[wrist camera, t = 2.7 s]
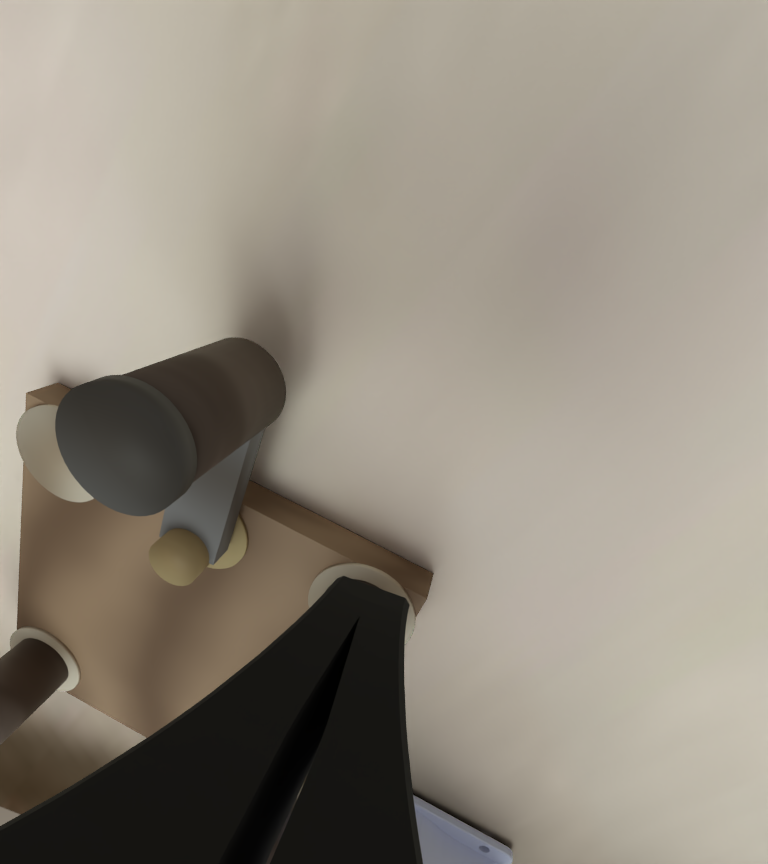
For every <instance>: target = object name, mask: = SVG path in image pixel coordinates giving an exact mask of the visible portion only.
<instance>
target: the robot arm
mask: <svg viewBox="0 0 768 864" xmlns="http://www.w3.org/2000/svg"><path fill="white" fill-rule="evenodd" d="M409 606H410V604H409V603H408V601H407V599H406V598H405V597H402V596H399V595H396V594H393V593H391V592H388V591H385V590H382V589H379V588H377V587H374V586H371V585H368V584H365V583H363V582H360V581H357V580H354V579H351V578H349V577H346V576H342V577H339V578H337V579H336V580H335V581H334V582H333V584H332V585H331V586H330V587H329V588H328V589H327V590H326V591H325V593H324V594H323V595H322V596H321V597H320V598H319V599H318V600H317V601H316V602H315V603H314V604H313V605H312V606H311V607H310V608H309V609H308V610H307V611H306V612H305V613H304V614H303V615H302V616H301V617H300V618H299V619H298V620H297V621H296V622H295V623H293V624H292V625H291V626H290V627H289V628H288V629H287V630H286V631H285V632H283V633H282V634H281V635H280V636H279V637H278V638H277V639H276V640H274V641H273V642H272V643H271V644H270V645H269V646H268V647H267V648H265V649H264V650H263V651H262V652H261V653H260V654H259V655H257V656H256V657H255V658H254V659H253V660H251V661H250V662H249V663H248V664H246V665H245V666H244V667H243V668H241V669H240V670H239V671H238V672H236V673H235V674H234V675H233V676H231V677H230V678H229V679H228V680H226V681H225V682H224V683H223V684H221V685H220V686H219V687H217V688H216V689H215V690H214V691H212V692H211V693H210V694H208V695H207V696H206V697H204V698H203V699H202V700H200V701H199V702H198V703H196V704H195V705H194V706H192V707H191V708H189V709H188V710H187V711H185V712H184V713H182V714H181V715H180V716H178V717H177V718H175V719H174V720H173V721H171V722H170V723H168V724H167V725H165V726H164V727H162V728H161V729H160V730H158V731H157V732H155V733H154V734H152V735H151V736H149V737H148V738H146V739H145V740H143V741H142V742H140V743H139V744H137V745H136V746H134V747H132V748H131V749H129V750H128V751H126V752H125V753H123V754H121V755H120V756H118V757H117V758H115V759H114V760H112V761H111V762H109V763H107V764H106V765H104V766H103V767H101V768H100V769H98V770H96V771H95V772H93V773H92V774H90V775H88V776H87V777H85V778H83V779H82V780H80V781H78V782H77V783H75V784H74V785H72V786H70V787H69V788H67V789H65V790H64V791H62V792H60V793H58V794H57V795H55V796H53V797H52V798H50V799H48V800H46V801H44V802H43V803H41V804H39V805H37V806H36V807H34V808H32V809H30V810H28V811H27V812H25V813H23V814H21V815H19V816H18V817H16V818H14V819H12V820H11V821H9V822H7V823H5V824H3V825H2V826H0V864H266V862H267V860H268V858H269V855H270V853H271V851H272V849H273V846H274V844H275V842H276V840H277V838H278V836H279V834H280V832H281V830H282V827H283V825H284V823H285V821H286V819H287V817H288V815H289V813H290V811H291V809H292V806H293V804H294V802H295V800H296V798H297V796H298V794H299V792H300V790H301V792H300V794H299V796H298V799H297V801H296V804H295V806H294V808H293V811H292V813H291V815H290V818H289V820H288V822H287V825H286V827H285V829H284V832H283V834H282V836H281V839H280V841H279V843H278V846H277V848H276V850H275V853H274V855H273V857H272V860H271V862H270V864H511V863H512V862H513V852H512V851H511V849H510V848H509V847H507V846H505V845H504V844H502V843H500V842H498V841H496V840H495V839H493V838H491V837H489V836H487V835H485V834H484V833H482V832H480V831H478V830H476V829H475V828H473V827H471V826H469V825H467V824H465V823H464V822H462V821H460V820H458V819H456V818H455V817H453V816H451V815H449V814H447V813H445V812H444V811H442V810H440V809H438V808H436V807H435V806H433V805H431V804H429V803H427V802H425V801H424V800H422V799H420V798H418V797H416V796H415V795H413V790H412V782H411V773H410V763H409V753H408V743H407V730H406V713H405V691H404V644H405V630H406V622H407V615H408V610H409ZM305 779H306V780H305ZM304 781H305V782H304ZM303 783H304V784H303ZM302 785H303V787H302ZM301 787H302V789H301Z"/></svg>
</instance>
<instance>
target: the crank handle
mask: <svg viewBox="0 0 768 864" xmlns="http://www.w3.org/2000/svg"><path fill="white" fill-rule="evenodd" d="M285 398H286V387H285V381H284V378H283V375H282V372H281V370H280V368H279V366H278V364H277V363H276V361H275V360H274V358H273V357H272V356H271V355H270V354H269V353H268V352H267V351H266V350H265V349H264V348H262V347H261V346H259V345H258V344H256V343H254V342H252V341H250V340H247V339H243V338H226V339H223V340H220V341H217V342H214V343H211V344H209V345H206V346H203V347H200V348H197V349H194V350H192V351H189V352H186V353H183V354H180V355H177V356H175V357H172V358H169V359H166V360H163V361H160V362H158V363H155V364H152V365H149V366H146V367H144V368H141V369H138V370H135V371H132V372H129V373H127V374H124V375H110V376H105V377H102V378H99V379H96V380H93V381H90V382H87V383H84V384H82V385H79V386H76V387H75V388H73V389H71V390H70V391H69V392H68V393H67V394H66V395H65V396H64V397H63V399H62V400H61V402H60V404H59V406H58V409H57V413H56V419H55V432H56V439H57V443H58V447H59V450H60V453H61V455H62V458H63V460H64V462H65V464H66V466H67V467H68V469H69V471H70V472H71V474H72V475H73V477H74V478H75V479H76V480H77V482H78V483H79V484H80V485H81V486H82V487H83V488H84V489H85V490H86V492H88V493H89V494H90V495H91V496H92V497H93V498H95V499H96V500H97V501H99V502H100V503H102V504H103V505H105V506H107V507H108V508H110V509H113V510H115V511H117V512H120V513H123V514H126V515H131V516H149V515H154V514H156V513H159V512H161V511H162V510H164V509H165V511H164V515H163V520H162V525H161V529H160V534H159V537H161V538H160V539H159V540H157V541H156V542H155V543H154V544H153V545H152V546H151V547H150V550H149V560H150V563H151V566H152V567H153V569H154V571H155V572H156V573H157V574H158V575H159V576H160V577H161V578H162V579H163V580H165V581H167V582H168V583H170V584H173V585H176V586H186V585H189V584H191V583H192V582H193V581H194V580H195V579H196V578H197V577H198V576H199V575H200V574H201V573H202V572H203V571H204V569H205V568H206V567H207V566H208V565H209V564H212V565H214V564H215V563H216V562H217V561H218V560H219V559H220V558H221V556H222V555H223V554H224V553H225V552H226V551H227V550H228V547H229V544H230V541H231V537H232V534H233V531H234V528H235V524H236V521H237V518H238V514H239V511H240V508H241V505H242V501H243V498H244V495H245V492H246V488H247V485H248V482H249V479H250V475H251V472H252V469H253V465H254V462H255V459H256V456H257V452H258V449H259V446H260V443H261V439H262V436H263V433H264V430H265V428H266V427H267V426H268V425H270V424H271V423H272V422H274V421H275V420H276V419H277V417H278V416H279V415H280V413H281V411H282V409H283V407H284V403H285Z"/></svg>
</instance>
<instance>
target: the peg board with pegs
mask: <svg viewBox="0 0 768 864" xmlns="http://www.w3.org/2000/svg"><path fill="white" fill-rule="evenodd" d="M70 390H71V389H69V388H68V387H66V386H64V385H62V384H60V383H56V384H52V385H49V386H46V387H43V388H40V389H37V390H34V391H31V392H28V393H26V412H25V413H24V414H23V415H22V416H21V418H20V420H19V422H18V425H17V431H16V439H17V445H18V449H19V452H20V455H21V457H22V459H23V461H24V462H23V488H22V513H21V538H20V563H19V589H18V614H17V631H15V632H14V633H13V634H12V636H11V639H10V647H11V650H10V651H9V652H7V653H6V654H5V655H4V656H2V657H1V658H0V745H1V744H2V743H3V742H4V741H5V740H6V739H7V738H8V737H9V736H10V735H11V734H12V733H13V732H14V731H15V730H16V729H17V728H18V727H19V726H20V725H21V724H22V723H23V722H24V721H25V720H26V719H27V718H28V717H29V716H30V715H31V714H32V713H33V712H34V711H35V710H36V709H37V708H38V707H39V706H40V705H41V704H43V703H44V702H45V701H46V700H47V699H48V698H49V697H50V696H51V695H52V694H53V693H54V692H55V691H61V692H64V691H65V692H67V693H69V694H71V695H73V696H74V697H76V698H78V699H80V700H81V701H83V702H85V703H87V704H88V705H90V706H92V707H94V708H95V709H97V710H99V711H101V712H103V713H104V714H106V715H108V716H110V717H111V718H113V719H115V720H117V721H118V722H120V723H122V724H124V725H125V726H127V727H129V728H131V729H133V730H134V731H136V732H138V733H140V734H141V735H143V736H145V737H147V738H148V737H149V736H151V735H152V734H154V733H155V732H157V731H158V730H160V729H161V728H162V727H164V726H165V725H167V724H168V723H170V722H171V721H173V720H174V719H175V718H177V717H178V716H180V715H181V714H182V713H184V712H185V711H187V710H188V709H189V708H191V707H192V706H194V705H195V704H196V703H198V702H199V701H200V700H202V699H203V698H204V697H206V696H207V695H208V694H210V693H211V692H212V691H214V690H215V689H216V688H217V687H219V686H220V685H221V684H223V683H224V682H225V681H226V680H228V679H229V678H230V677H231V676H233V675H234V674H235V673H236V672H238V671H239V670H240V669H241V668H243V667H244V666H245V665H246V664H248V663H249V662H250V661H251V660H253V659H254V658H255V657H256V656H257V655H259V654H260V653H261V652H262V651H263V650H264V649H265V648H267V647H268V646H269V645H270V644H271V643H272V642H273V641H274V640H276V639H277V638H278V637H279V636H280V635H281V634H282V633H283V632H285V631H286V630H287V629H288V628H289V627H290V626H291V625H292V624H293V623H295V622H296V621H297V620H298V619H299V618H300V617H301V616H302V615H303V614H304V613H305V612H306V611H307V610H308V609H309V608H310V607H311V606H312V605H313V604H314V603H315V602H316V601H317V600H318V599H319V598H320V597H321V596H322V595H323V594H324V593H325V591H326V590H327V589H328V588H329V587H330V586H331V585H332V584H333V582H334V581H335V580H336V579H337V578H339V577H342V576H346V577H349V578H351V579H354V580H357V581H360V582H363V583H365V584H368V585H371V586H374V587H377V588H379V589H382V590H385V591H388V592H391V593H393V594H396V595H399V596H402V597H405V598H406V599H407V601H408V603H409V604H410V606H409V610H408V615H407V622H406V630H405V644H406V643H407V642H408V641H409V639H410V638H411V636H412V634H413V630H414V627H415V620H416V616H417V614H418V613H419V611H420V609H421V608H422V606H423V604H424V603H425V601H426V599H427V596H428V592H429V589H430V585H431V581H432V577H433V573H431V572H429V571H427V570H426V569H424V568H422V567H420V566H418V565H416V564H414V563H412V562H410V561H408V560H406V559H404V558H402V557H400V556H398V555H396V554H394V553H392V552H390V551H388V550H386V549H384V548H382V547H380V546H378V545H376V544H374V543H372V542H370V541H368V540H366V539H365V538H363V537H361V536H359V535H357V534H355V533H353V532H351V531H349V530H347V529H345V528H343V527H341V526H339V525H337V524H335V523H333V522H331V521H329V520H327V519H325V518H323V517H321V516H319V515H317V514H315V513H313V512H311V511H309V510H307V509H306V508H304V507H302V506H300V505H298V504H296V503H294V502H292V501H290V500H288V499H286V498H284V497H282V496H280V495H278V494H276V493H274V492H272V491H270V490H268V489H266V488H264V487H262V486H260V485H258V484H256V483H254V482H252V481H250V480H249V482H248V485H247V488H246V492H245V495H244V498H243V501H242V505H241V508H240V511H239V514H238V518H237V521H236V524H235V528H234V531H233V534H232V537H231V541H230V544H229V547H228V550H227V551H226V552H225V553H224V554H223V555H222V556H221V558H220V559H219V560H218V561H217V562H216V563H215V564H214V565H212V564H209V565H208V566H207V567H206V568H205V569H204V571H203V572H202V573H201V574H200V575H199V576H198V577H197V578H196V579H195V580H194V581H193V582H192V583H191V584H189V585H186V586H176V585H173V584H170V583H168V582H167V581H165V580H163V579H162V578H161V577H160V576H159V575H158V574H157V573H156V572H155V571H154V569H153V567H152V566H151V563H150V560H149V550H150V547H151V546H152V545H153V544H154V543H155V542H156V541H157V540H159V539H160V538H161V537H159V534H160V529H161V525H162V520H163V515H164V511H165V509H164V510H162V511H161V512H159V513H156V514H154V515H149V516H131V515H126V514H123V513H120V512H117V511H115V510H113V509H110V508H108V507H107V506H105V505H103V504H102V503H100V502H99V501H97V500H96V499H95V498H93V497H92V496H91V495H90V494H89V493H88V492H86V490H85V489H84V488H83V487H82V486H81V485H80V484H79V483H78V482H77V480H76V479H75V478H74V477H73V475H72V474H71V472H70V471H69V469H68V467H67V466H66V464H65V462H64V460H63V458H62V455H61V453H60V450H59V447H58V443H57V439H56V432H55V419H56V413H57V409H58V406H59V404H60V402H61V400H62V399H63V397H64V396H65V395H66V394H67V393H68V392H69V391H70ZM405 644H404V645H405ZM305 780H306V779H305ZM304 782H305V781H304ZM303 784H304V783H303ZM302 787H303V785H302ZM302 787H301V789H302ZM300 792H301V790H300ZM300 792H299V794H300ZM299 794H298V796H299ZM298 796H297V798H296V800H295V802H294V804H293V806H292V809H291V811H290V813H289V815H288V817H287V819H286V821H285V823H284V825H283V827H282V830H281V832H280V834H279V836H278V838H277V840H276V842H275V844H274V846H273V849H272V851H271V853H270V855H269V858H268V860H267V862H266V864H270V862H271V860H272V857H273V855H274V853H275V850H276V848H277V846H278V843H279V841H280V839H281V836H282V834H283V832H284V829H285V827H286V825H287V822H288V820H289V818H290V815H291V813H292V811H293V808H294V806H295V804H296V801H297V799H298Z"/></svg>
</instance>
